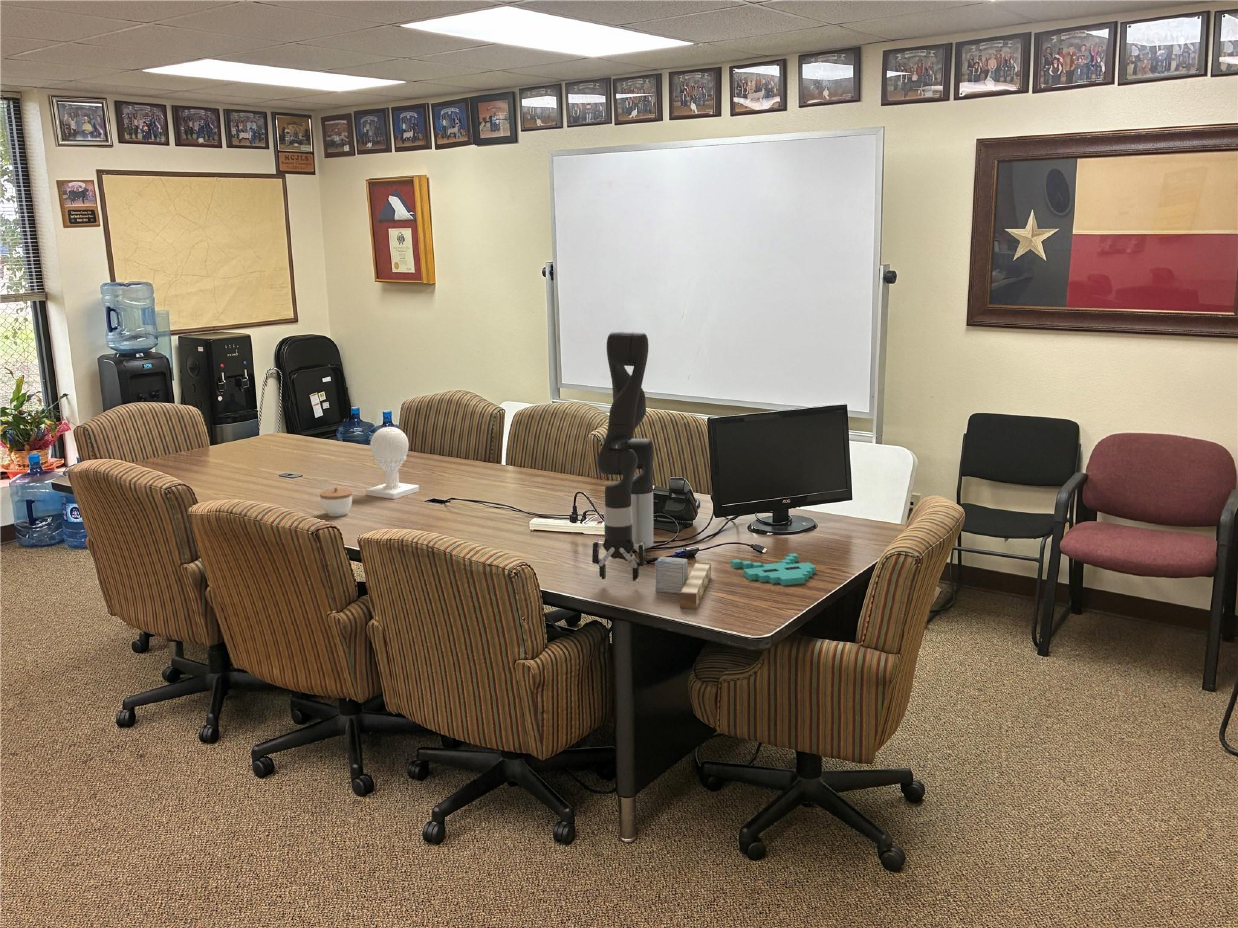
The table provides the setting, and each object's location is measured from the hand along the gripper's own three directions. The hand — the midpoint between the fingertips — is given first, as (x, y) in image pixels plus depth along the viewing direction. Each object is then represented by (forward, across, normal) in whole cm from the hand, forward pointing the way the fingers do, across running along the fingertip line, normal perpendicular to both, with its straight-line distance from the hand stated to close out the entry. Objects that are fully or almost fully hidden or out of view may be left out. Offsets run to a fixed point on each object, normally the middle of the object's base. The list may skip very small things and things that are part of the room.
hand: (619, 579), depth 283 cm
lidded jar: (+2, +111, -56) cm, 124 cm away
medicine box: (+2, -15, +1) cm, 15 cm away
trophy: (+2, +105, -87) cm, 136 cm away
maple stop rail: (+2, -21, 0) cm, 21 cm away
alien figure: (+3, -41, -19) cm, 46 cm away
